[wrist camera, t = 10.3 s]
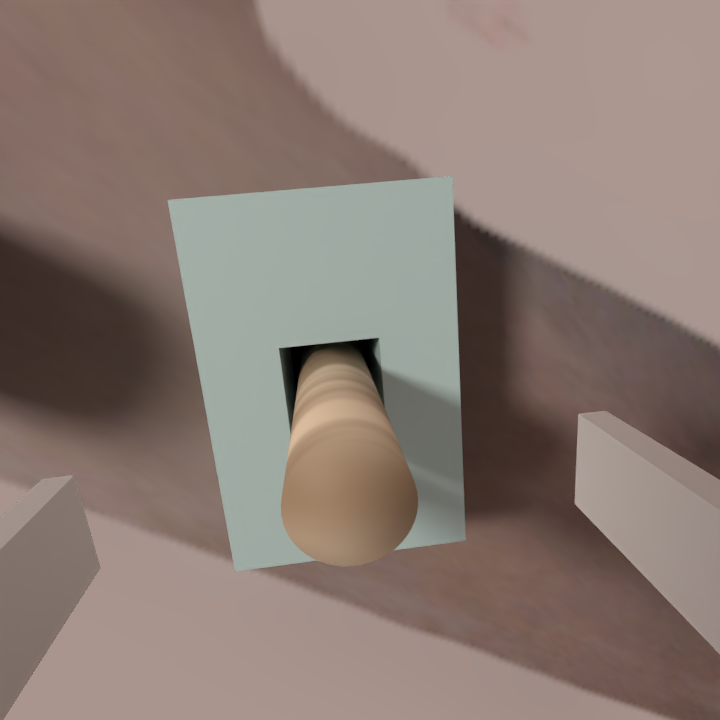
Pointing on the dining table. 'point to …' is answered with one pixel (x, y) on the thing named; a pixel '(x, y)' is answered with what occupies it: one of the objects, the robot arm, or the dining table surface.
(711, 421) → the dining table surface
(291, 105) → the dining table surface
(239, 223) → the socket block
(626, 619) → the dining table surface
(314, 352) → the peg
